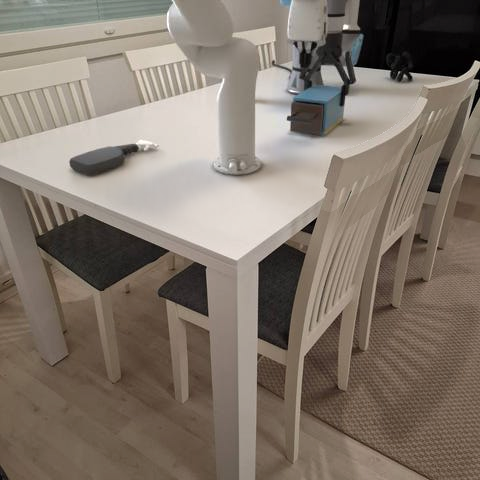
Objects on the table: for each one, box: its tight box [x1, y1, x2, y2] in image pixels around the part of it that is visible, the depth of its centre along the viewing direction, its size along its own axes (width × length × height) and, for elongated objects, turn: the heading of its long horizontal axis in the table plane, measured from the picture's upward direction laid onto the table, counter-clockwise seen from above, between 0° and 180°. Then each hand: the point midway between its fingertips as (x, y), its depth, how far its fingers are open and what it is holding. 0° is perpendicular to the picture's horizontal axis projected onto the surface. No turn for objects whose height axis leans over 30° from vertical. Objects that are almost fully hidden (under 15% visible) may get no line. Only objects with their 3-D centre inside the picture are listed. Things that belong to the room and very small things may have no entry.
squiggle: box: [385, 51, 414, 83], centre depth 198 cm, size 11×10×15 cm
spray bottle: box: [68, 139, 160, 177], centre depth 124 cm, size 3×11×24 cm
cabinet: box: [292, 85, 345, 137], centre depth 145 cm, size 19×11×11 cm, turn 151°
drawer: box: [286, 101, 324, 136], centre depth 141 cm, size 24×10×9 cm, turn 151°
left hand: (304, 67), depth 126 cm, fingers closed
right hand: (324, 103), depth 149 cm, fingers closed on cabinet, 11 cm apart
